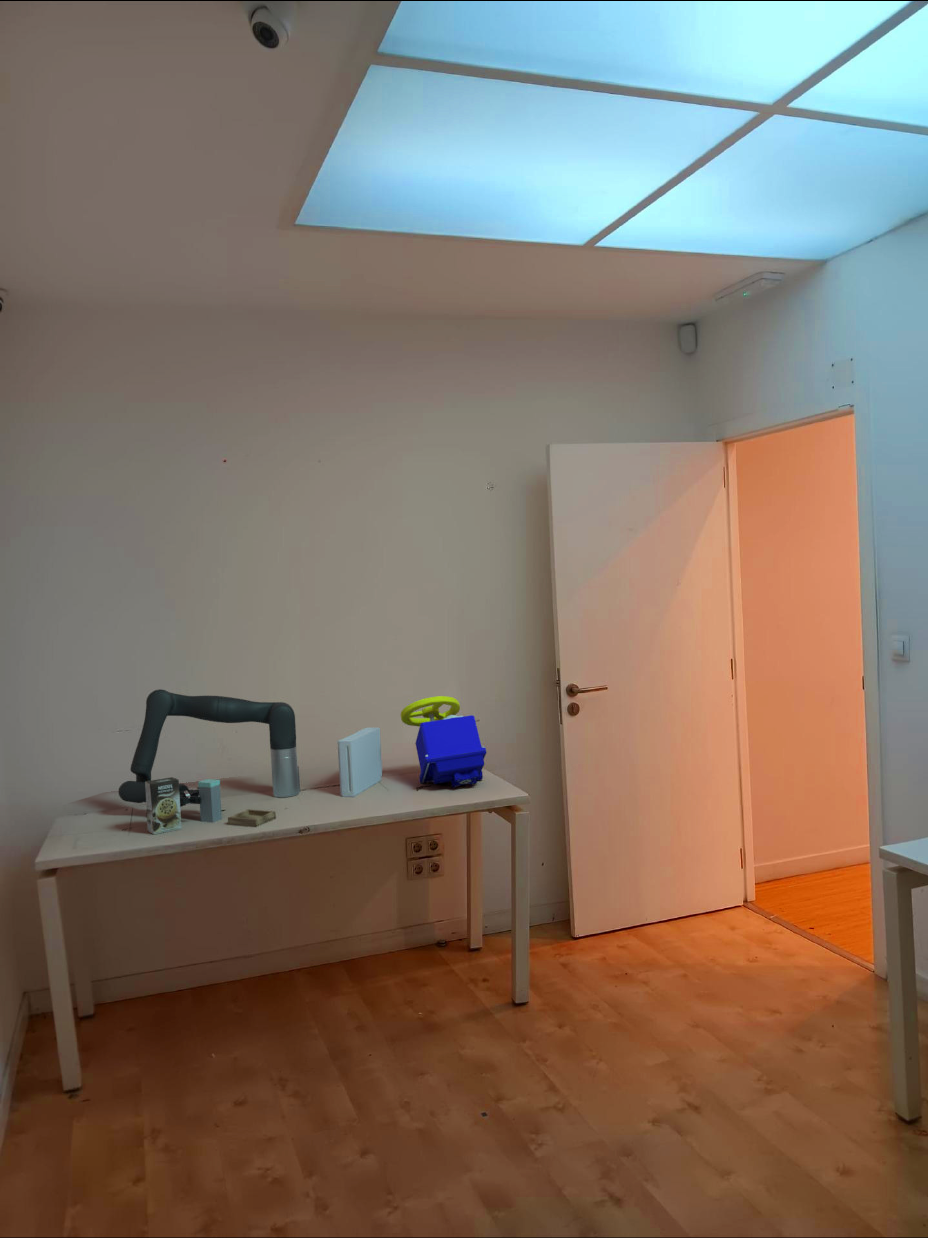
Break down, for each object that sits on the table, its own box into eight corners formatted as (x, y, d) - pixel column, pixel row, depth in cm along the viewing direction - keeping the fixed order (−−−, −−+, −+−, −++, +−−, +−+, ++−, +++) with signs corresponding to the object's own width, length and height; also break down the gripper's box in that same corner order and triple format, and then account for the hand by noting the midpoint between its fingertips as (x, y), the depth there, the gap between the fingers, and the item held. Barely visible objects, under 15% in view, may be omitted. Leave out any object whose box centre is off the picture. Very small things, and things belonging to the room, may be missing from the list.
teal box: (209, 817, 312) (207, 779, 311) (222, 818, 310) (219, 779, 309) (200, 821, 308) (198, 782, 307) (212, 822, 306) (210, 783, 305)
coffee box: (153, 835, 294) (150, 784, 293) (147, 831, 299) (143, 781, 298) (182, 829, 299) (179, 779, 298) (175, 825, 304) (172, 776, 304)
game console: (338, 796, 333) (335, 741, 332) (368, 779, 359) (365, 727, 358) (353, 797, 331) (350, 741, 330) (382, 779, 357) (379, 727, 356)
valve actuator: (493, 767, 328) (474, 690, 341) (418, 779, 322) (402, 700, 335) (482, 791, 350) (464, 717, 364) (412, 803, 344) (397, 727, 358)
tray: (248, 816, 311) (248, 809, 311) (275, 818, 307) (275, 811, 307) (228, 824, 302) (227, 817, 302) (255, 827, 297) (255, 820, 297)
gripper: (155, 788, 309) (193, 791, 302) (185, 778, 322) (222, 781, 315) (156, 811, 309) (195, 814, 302) (186, 800, 322) (224, 803, 315)
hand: (209, 797), depth 309 cm, fingers open, 8 cm apart
